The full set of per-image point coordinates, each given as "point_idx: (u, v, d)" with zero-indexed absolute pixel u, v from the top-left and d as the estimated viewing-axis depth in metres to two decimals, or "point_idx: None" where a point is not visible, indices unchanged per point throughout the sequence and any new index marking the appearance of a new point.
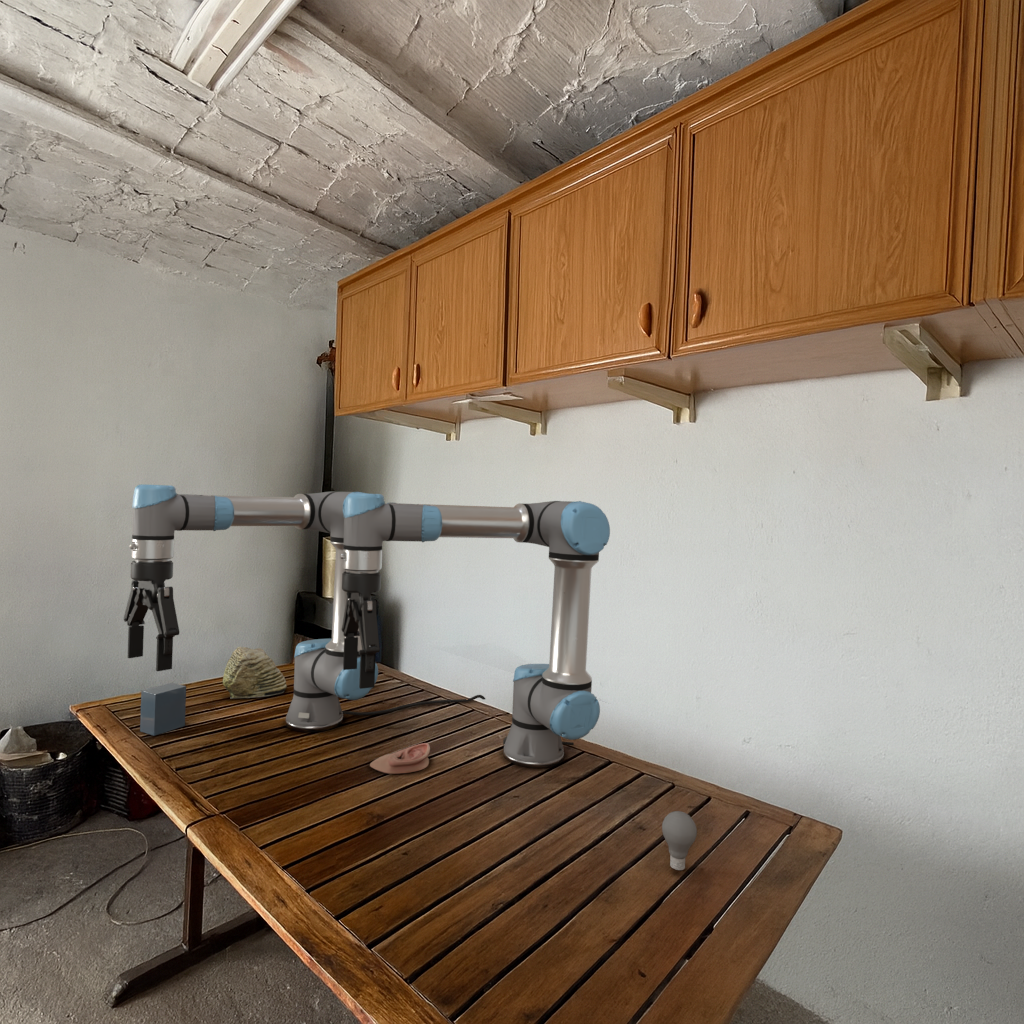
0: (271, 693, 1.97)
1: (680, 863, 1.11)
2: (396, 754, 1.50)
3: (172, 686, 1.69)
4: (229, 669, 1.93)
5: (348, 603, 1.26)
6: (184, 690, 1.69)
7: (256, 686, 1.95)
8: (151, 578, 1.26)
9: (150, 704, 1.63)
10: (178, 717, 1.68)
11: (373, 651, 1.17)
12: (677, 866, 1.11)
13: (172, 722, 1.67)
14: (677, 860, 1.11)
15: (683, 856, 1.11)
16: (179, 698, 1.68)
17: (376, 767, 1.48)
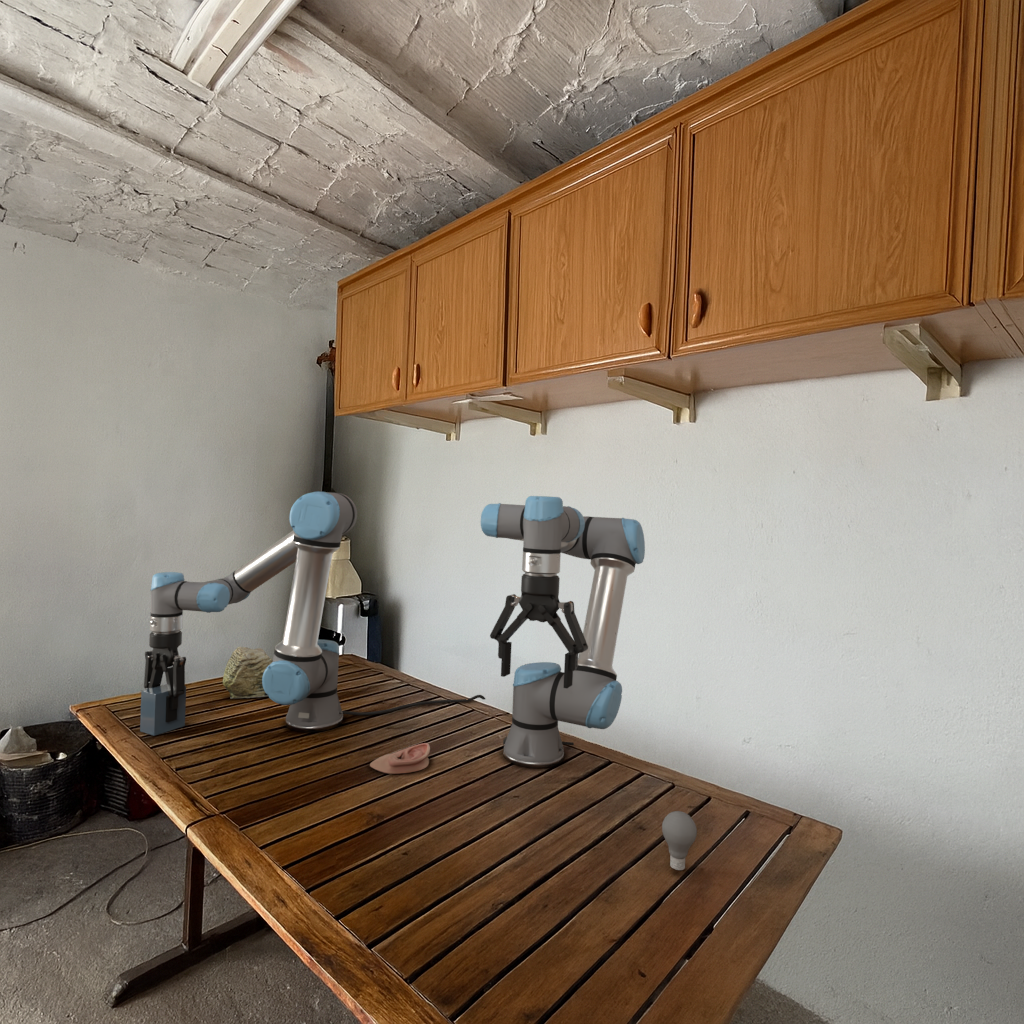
0: None
1: (680, 863, 1.11)
2: (396, 754, 1.50)
3: None
4: (229, 669, 1.93)
5: (526, 607, 1.24)
6: None
7: (256, 686, 1.95)
8: (168, 646, 1.64)
9: (150, 704, 1.63)
10: (178, 717, 1.68)
11: (585, 649, 1.21)
12: (677, 866, 1.11)
13: (172, 722, 1.67)
14: (677, 860, 1.11)
15: (683, 856, 1.11)
16: (179, 698, 1.68)
17: (376, 767, 1.48)
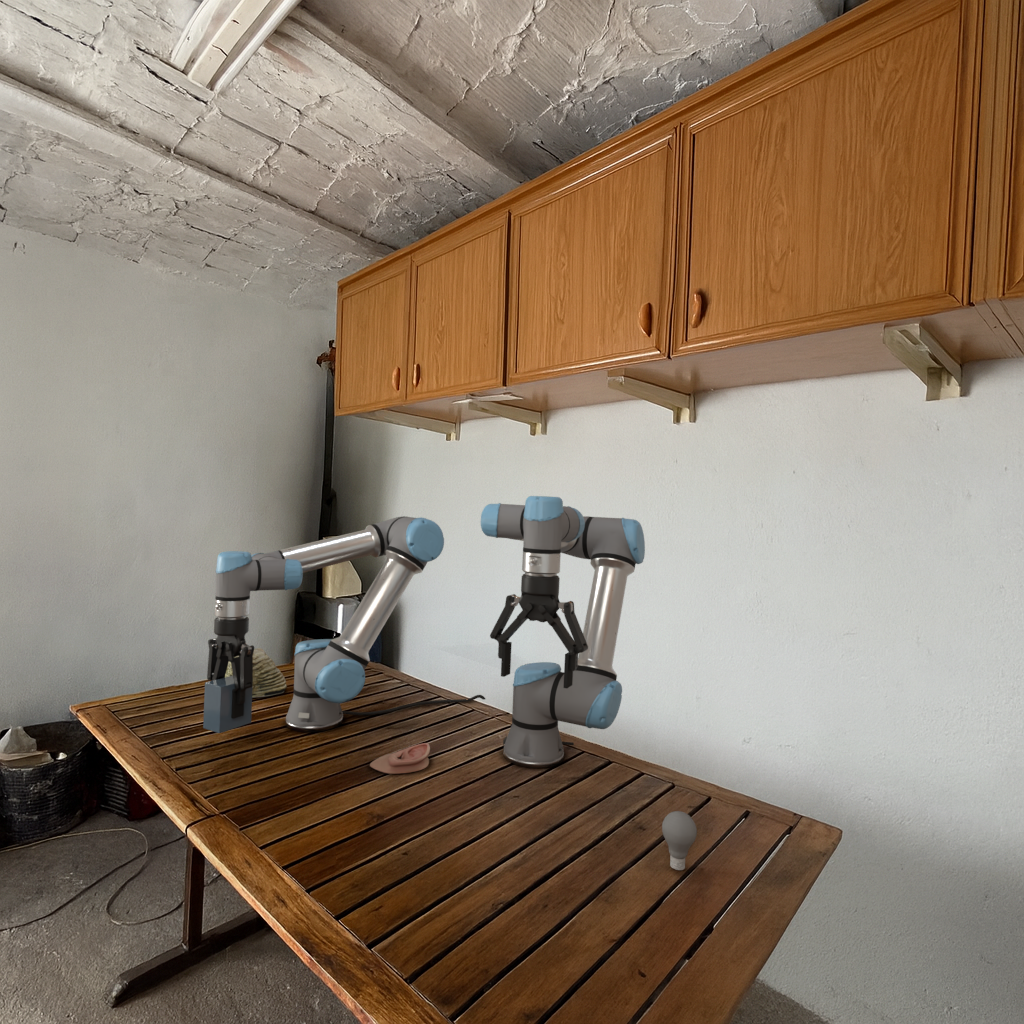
0: (271, 693, 1.97)
1: (680, 863, 1.11)
2: (396, 754, 1.50)
3: None
4: (229, 669, 1.93)
5: (526, 607, 1.24)
6: None
7: (256, 686, 1.95)
8: (235, 633, 1.47)
9: (215, 698, 1.46)
10: (244, 712, 1.51)
11: (585, 649, 1.21)
12: (677, 866, 1.11)
13: (238, 718, 1.49)
14: (677, 860, 1.11)
15: (683, 856, 1.11)
16: (245, 692, 1.51)
17: (376, 767, 1.48)
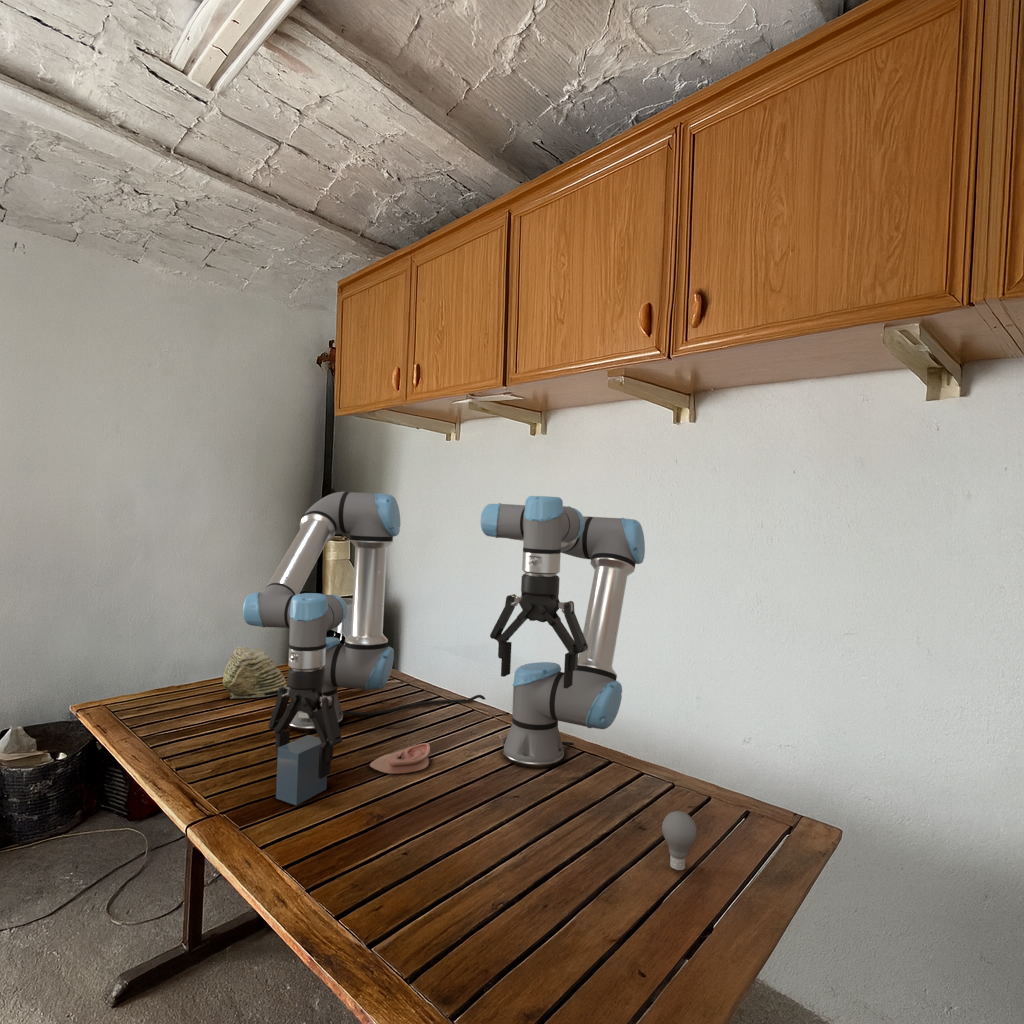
0: (271, 693, 1.97)
1: (680, 863, 1.11)
2: (396, 754, 1.50)
3: (312, 740, 1.36)
4: (229, 669, 1.93)
5: (526, 607, 1.24)
6: None
7: (256, 686, 1.95)
8: (313, 687, 1.31)
9: (291, 766, 1.30)
10: (320, 779, 1.36)
11: (585, 649, 1.21)
12: (677, 866, 1.11)
13: (314, 786, 1.34)
14: (677, 860, 1.11)
15: (683, 856, 1.11)
16: None
17: (376, 767, 1.48)
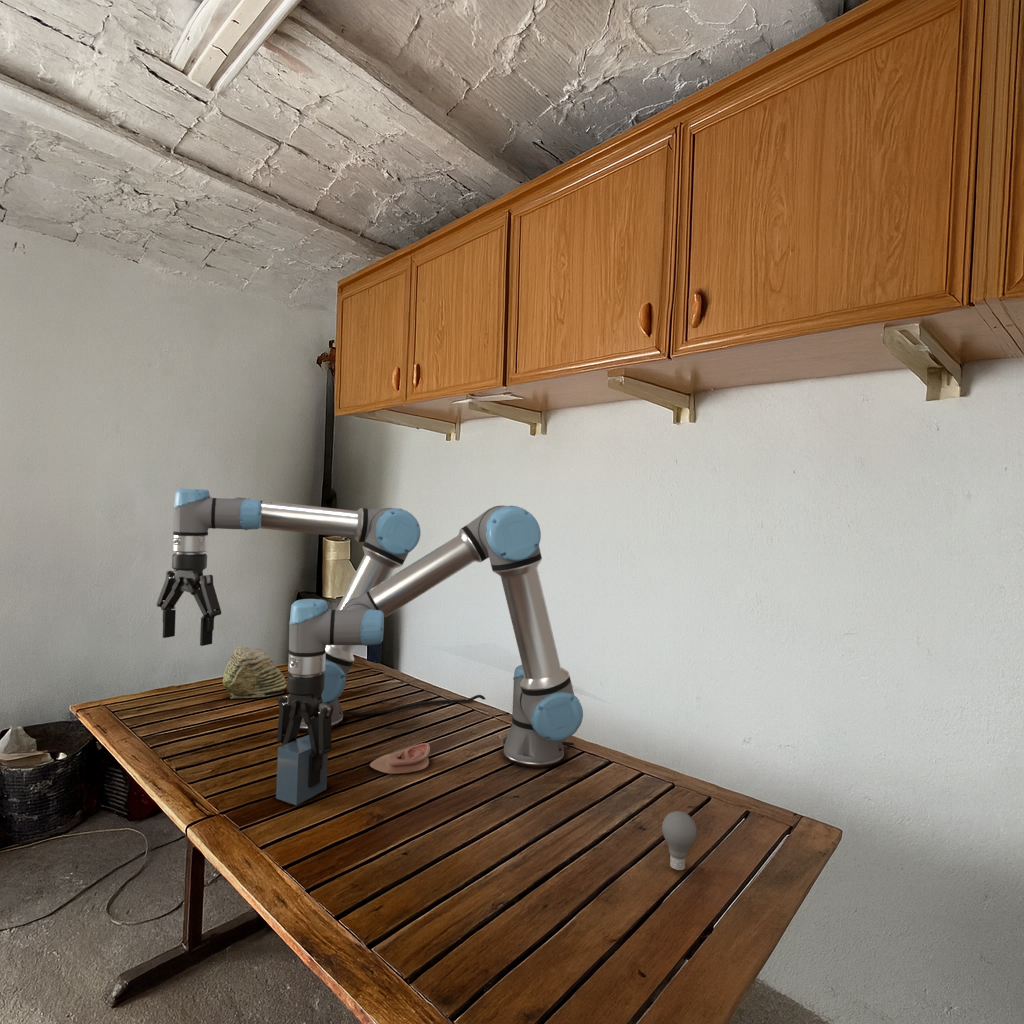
0: (271, 693, 1.97)
1: (680, 863, 1.11)
2: (396, 754, 1.50)
3: None
4: (229, 669, 1.93)
5: (292, 706, 1.33)
6: None
7: (256, 686, 1.95)
8: (193, 568, 1.49)
9: (291, 766, 1.30)
10: (320, 779, 1.36)
11: (327, 752, 1.32)
12: (677, 866, 1.11)
13: (314, 786, 1.34)
14: (677, 860, 1.11)
15: (683, 856, 1.11)
16: None
17: (376, 767, 1.48)
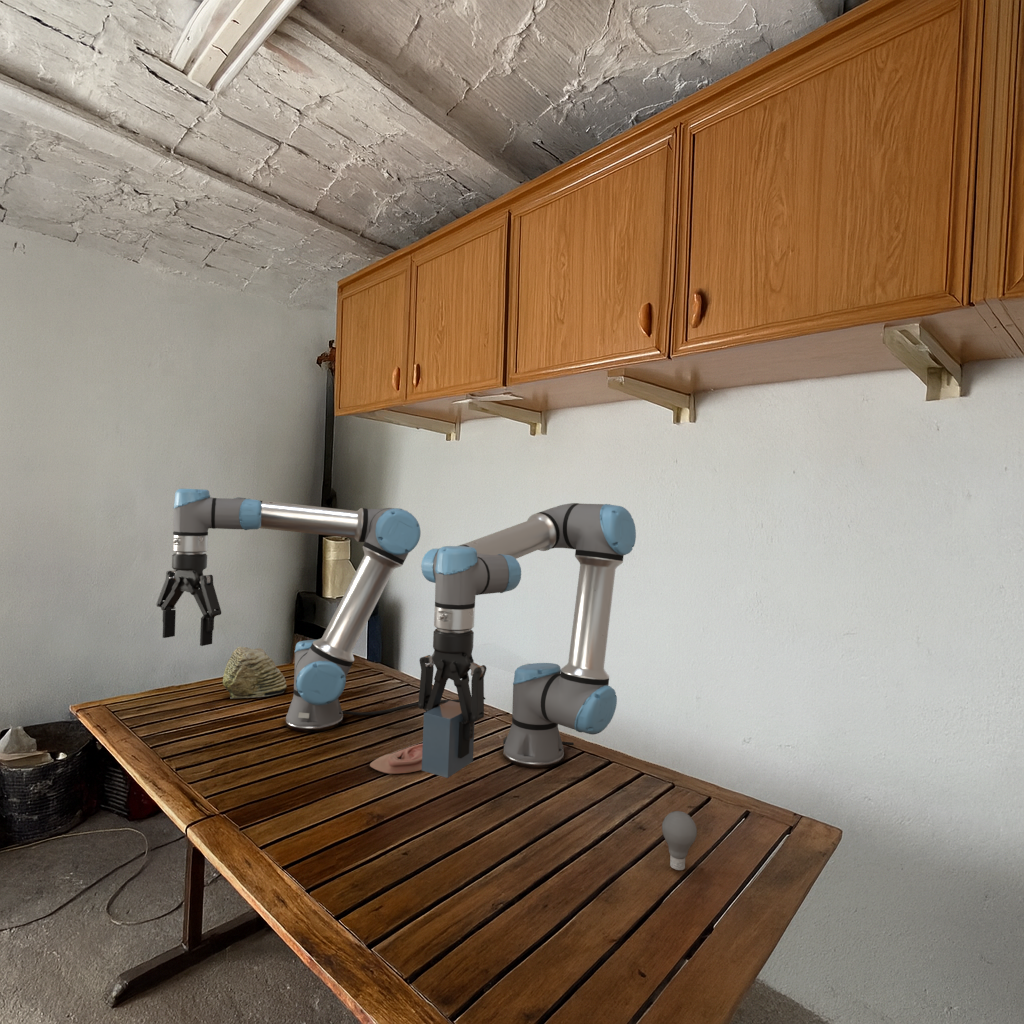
0: (271, 693, 1.97)
1: (680, 863, 1.11)
2: (396, 754, 1.50)
3: (457, 706, 1.21)
4: (229, 669, 1.93)
5: (438, 666, 1.18)
6: None
7: (256, 686, 1.95)
8: (193, 568, 1.49)
9: (440, 733, 1.15)
10: None
11: (480, 718, 1.16)
12: (677, 866, 1.11)
13: (463, 757, 1.18)
14: (677, 860, 1.11)
15: (683, 856, 1.11)
16: None
17: (376, 767, 1.48)
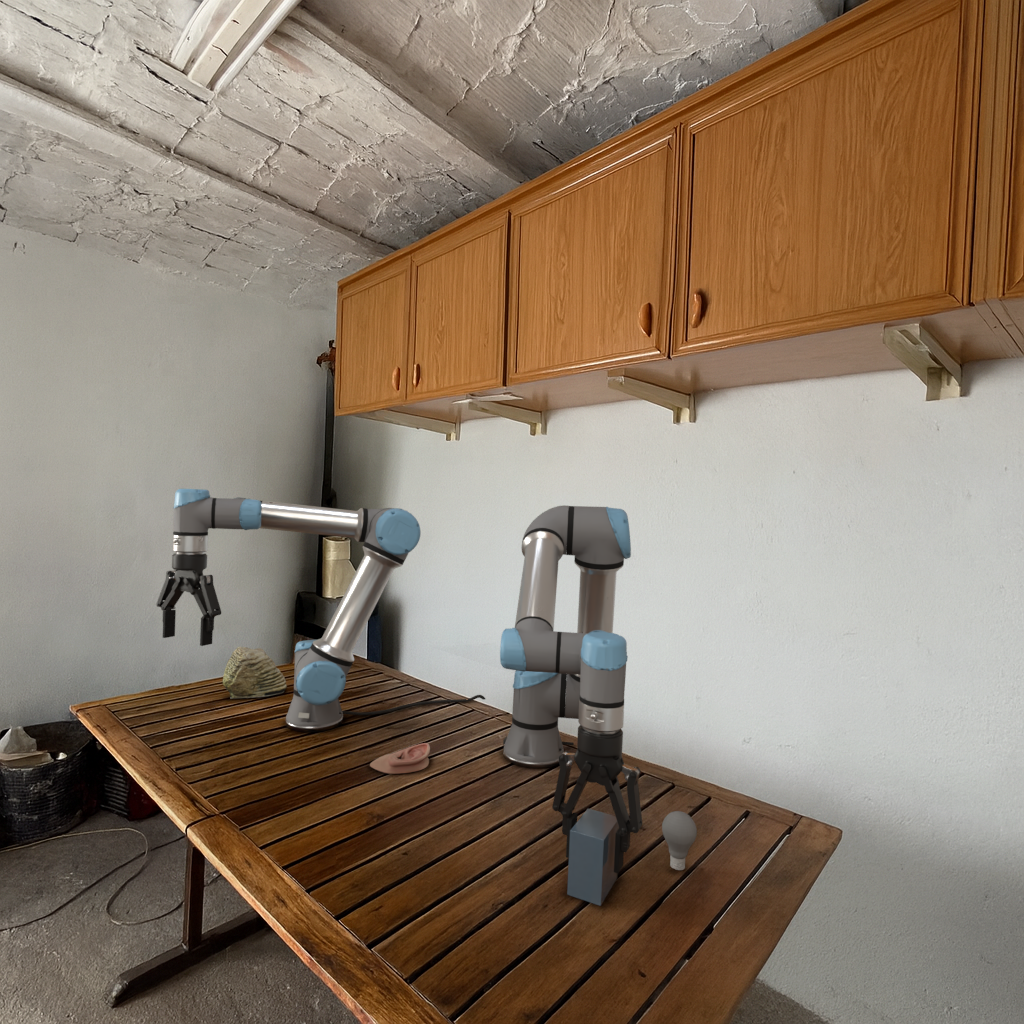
0: (271, 693, 1.97)
1: (680, 863, 1.11)
2: (396, 754, 1.50)
3: (601, 818, 1.08)
4: (229, 669, 1.93)
5: (584, 769, 1.05)
6: None
7: (256, 686, 1.95)
8: (193, 568, 1.49)
9: (592, 855, 1.02)
10: None
11: (639, 828, 1.03)
12: (677, 866, 1.11)
13: (610, 877, 1.06)
14: (677, 860, 1.11)
15: (683, 856, 1.11)
16: None
17: (376, 767, 1.48)
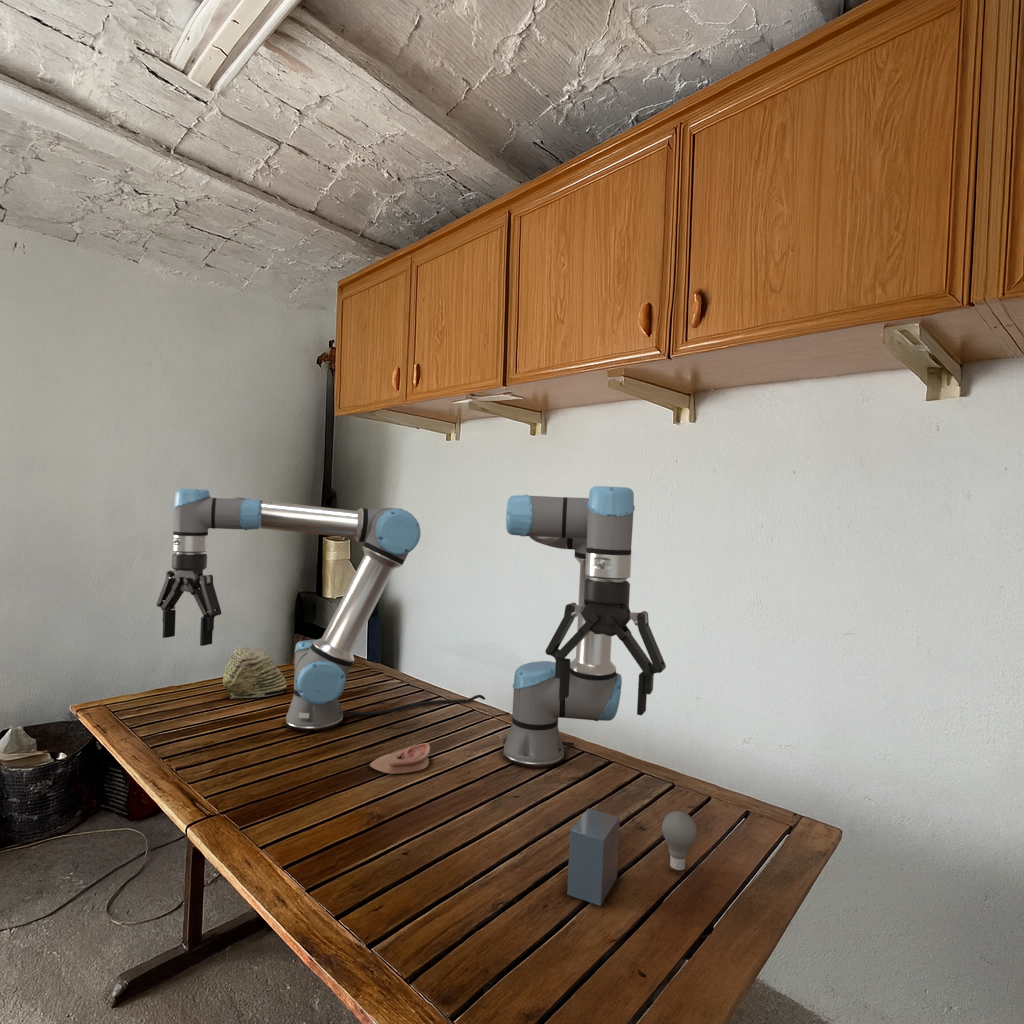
0: (271, 693, 1.97)
1: (680, 863, 1.11)
2: (396, 754, 1.50)
3: (601, 818, 1.08)
4: (229, 669, 1.93)
5: (590, 618, 1.05)
6: (618, 824, 1.09)
7: (256, 686, 1.95)
8: (193, 568, 1.49)
9: (592, 855, 1.02)
10: (614, 867, 1.07)
11: (663, 669, 1.02)
12: (677, 866, 1.11)
13: (610, 877, 1.06)
14: (677, 860, 1.11)
15: (683, 856, 1.11)
16: (615, 838, 1.07)
17: (376, 767, 1.48)
